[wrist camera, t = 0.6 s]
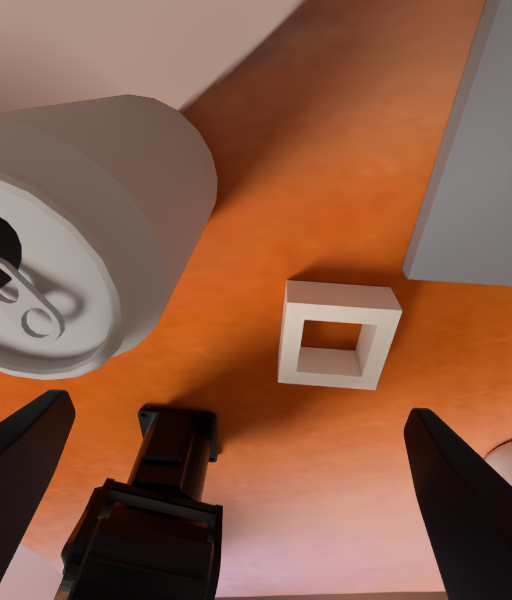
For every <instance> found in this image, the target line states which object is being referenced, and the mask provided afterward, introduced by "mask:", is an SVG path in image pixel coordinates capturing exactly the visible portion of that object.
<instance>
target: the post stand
mask: <svg viewBox="0 0 512 600" xmlns="http://www.w3.org/2000/svg"><path fill="white" fill-rule="evenodd" d="M402 271H403V272H404V274H405V276H406V277H407V279H412V280H426V281H440V282H455V283H469V284H483V285H498V286H512V0H486V3H485V6H484V9H483V13H482V16H481V19H480V22H479V25H478V28H477V32H476V35H475V38H474V41H473V44H472V47H471V51H470V54H469V57H468V60H467V63H466V66H465V70H464V73H463V76H462V79H461V82H460V85H459V89H458V92H457V95H456V98H455V101H454V104H453V108H452V111H451V114H450V117H449V120H448V123H447V127H446V130H445V133H444V136H443V139H442V142H441V146H440V149H439V152H438V155H437V158H436V161H435V165H434V168H433V171H432V174H431V177H430V180H429V184H428V187H427V190H426V193H425V196H424V199H423V203H422V206H421V209H420V212H419V215H418V218H417V221H416V225H415V228H414V231H413V234H412V237H411V240H410V244H409V247H408V250H407V253H406V256H405V259H404V263H403V266H402Z"/></svg>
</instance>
